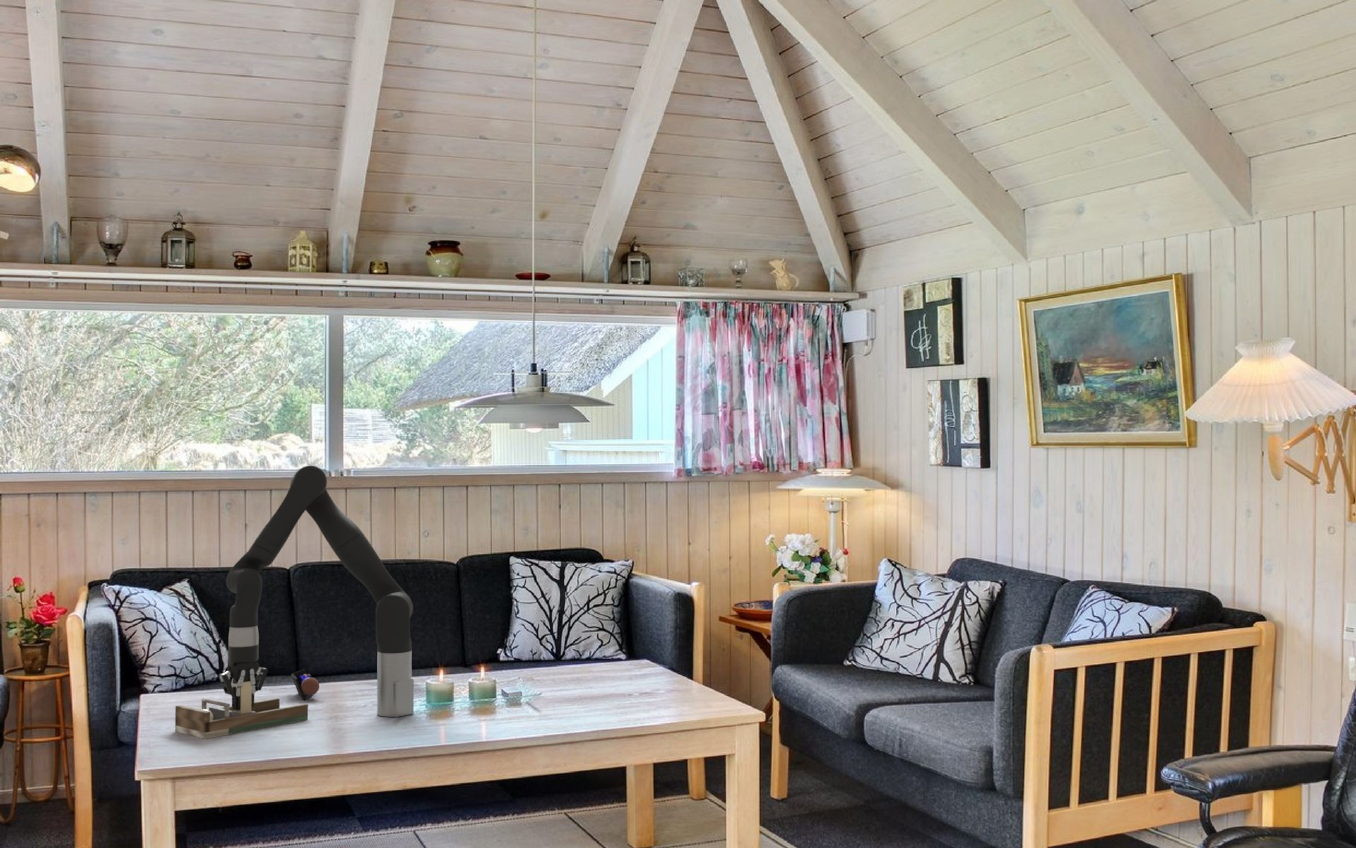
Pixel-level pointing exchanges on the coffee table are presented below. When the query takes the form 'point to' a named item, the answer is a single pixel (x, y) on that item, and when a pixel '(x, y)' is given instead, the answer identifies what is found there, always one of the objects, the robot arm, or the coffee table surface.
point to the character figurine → (305, 683)
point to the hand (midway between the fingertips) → (243, 708)
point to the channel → (235, 718)
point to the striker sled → (244, 704)
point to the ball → (210, 714)
